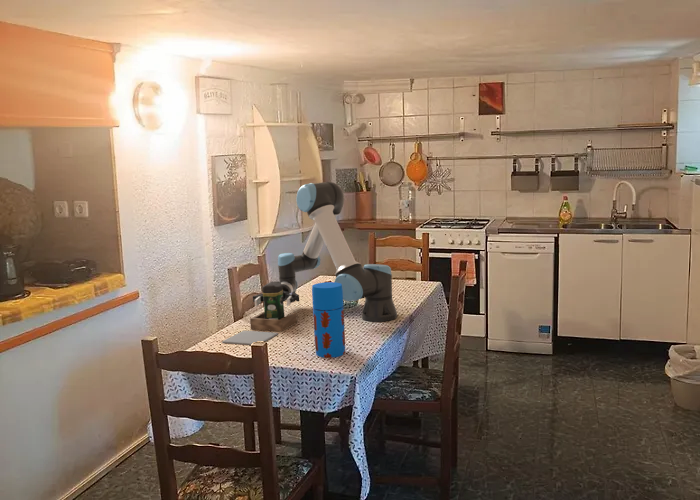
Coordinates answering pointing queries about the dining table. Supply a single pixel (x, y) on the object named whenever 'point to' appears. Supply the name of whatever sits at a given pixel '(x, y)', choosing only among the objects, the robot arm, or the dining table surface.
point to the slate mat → (249, 337)
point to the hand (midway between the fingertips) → (271, 302)
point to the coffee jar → (273, 301)
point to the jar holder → (273, 322)
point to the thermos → (328, 319)
